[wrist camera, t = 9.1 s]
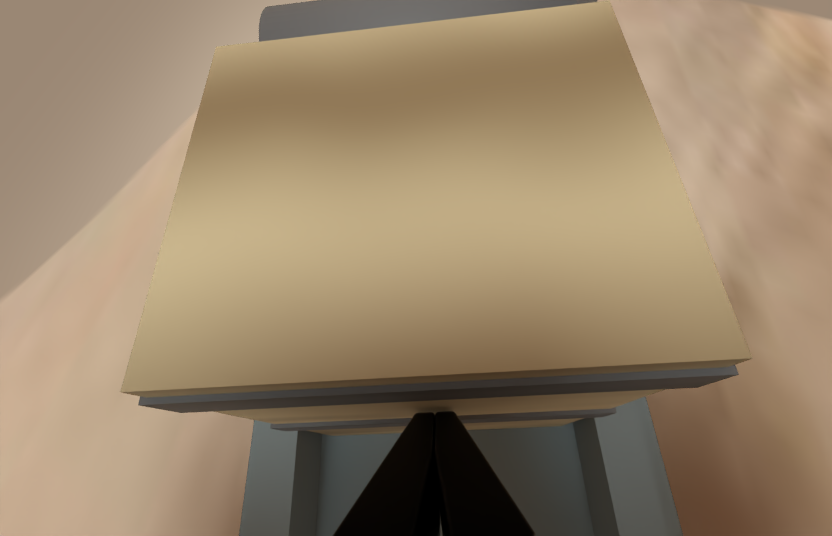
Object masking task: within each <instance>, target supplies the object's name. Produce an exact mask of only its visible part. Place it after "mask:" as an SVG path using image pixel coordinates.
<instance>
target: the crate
mask: <svg viewBox="0 0 832 536" xmlns="http://www.w3.org/2000/svg"><path fill="white" fill-rule="evenodd" d="M749 359H752V356H751V353H750V351H749V348H748V346H747V343H746V341H745V338H744V336H743V333H742V331H741V328H740V326H739V323H738V321H737V318H736V316H735V313H734V311H733V308H732V306H731V303H730V301H729V298H728V296H727V293H726V291H725V288H724V286H723V283H722V281H721V278H720V276H719V273H718V271H717V268H716V266H715V263H714V261H713V258H712V256H711V253H710V251H709V248H708V246H707V243H706V241H705V238H704V236H703V233H702V231H701V228H700V226H699V223H698V221H697V218H696V216H695V213H694V211H693V208H692V206H691V203H690V201H689V198H688V196H687V193H686V191H685V188H684V186H683V183H682V181H681V178H680V176H679V173H678V171H677V168H676V166H675V163H674V161H673V158H672V156H671V153H670V151H669V148H668V146H667V143H666V141H665V138H664V136H663V133H662V131H661V128H660V126H659V123H658V121H657V118H656V116H655V113H654V111H653V108H652V106H651V103H650V101H649V98H648V96H647V93H646V91H645V88H644V86H643V83H642V81H641V78H640V76H639V73H638V71H637V68H636V66H635V63H634V61H633V58H632V56H631V53H630V51H629V48H628V46H627V43H626V41H625V38H624V36H623V33H622V31H621V28H620V26H619V23H618V21H617V18H616V16H615V13H614V11H613V8H612V6H611V3H610V1H601V2H592V3H584V4H575V5H567V6H558V7H550V8H541V9H533V10H524V11H516V12H507V13H499V14H490V15H482V16H473V17H465V18H456V19H448V20H439V21H431V22H422V23H414V24H405V25H397V26H389V27H380V28H372V29H363V30H355V31H346V32H338V33H329V34H321V35H312V36H304V37H295V38H287V39H278V40H270V41H261V42H253V43H245V44H236V45H228V46H220V47H216V49H215V53H214V57H213V60H212V64H211V67H210V71H209V75H208V78H207V82H206V85H205V89H204V93H203V96H202V100H201V103H200V107H199V111H198V114H197V118H196V121H195V125H194V129H193V132H192V136H191V139H190V143H189V147H188V150H187V154H186V158H185V161H184V165H183V168H182V172H181V176H180V179H179V183H178V186H177V190H176V194H175V197H174V201H173V204H172V208H171V212H170V215H169V219H168V222H167V226H166V230H165V233H164V237H163V240H162V244H161V248H160V251H159V255H158V259H157V262H156V266H155V269H154V273H153V277H152V280H151V284H150V287H149V291H148V295H147V298H146V302H145V305H144V309H143V313H142V316H141V320H140V323H139V327H138V331H137V334H136V338H135V342H134V345H133V349H132V352H131V356H130V360H129V363H128V367H127V370H126V374H125V378H124V381H123V385H122V388H121V392H122V393H127V394H132V395H136V396H140V400H139V404H138V405H140V406H146V407H151V408H157V409H163V410H168V411H174V412H179V413H188V412H208V411H214V412H219V413H224V414H228V415H233V416H238V417H243V418H248V419H253V420H257V421H262V422H267V423H271V426H270V429H275V430H281V431H311V432H315V433H320V434H325V435H330V436H344V435H367V434H390V433H402V432H403V430H404V429H405V428H406V426H407V425H408V423H409V422H410V420H411V419H412V417H413V416H414V414H416V413H419V412H433V413H434V414H436V413H437V412H441V411H454V412H455V413H456V414H457V416H458V417H459V419H460V420H461V422H462V423H463V425H464V426H465V428H466V429H467V430H482V429H505V428H529V427H552V426H563V425H566V424H569V423H572V422H575V421H578V420H580V419H583V418H598V417H605V416H609V415H612V414H615V413H617V412H616V407H617V406H620V405H623V404H625V403H628V402H631V401H634V400H637V399H639V398H642V397H645V396H648V395H651V394H654V393H656V392H659V391H662V390H665V389H677V388H697V387H701V386H704V385H707V384H710V383H713V382H717V381H720V380H723V379H726V378H729V377H732V376H736V375H739V374H738V372H737V369H736V366H735V364H738V363H741V362H744V361H746V360H749Z"/></svg>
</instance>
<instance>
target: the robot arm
mask: <svg viewBox="0 0 832 536" xmlns="http://www.w3.org/2000/svg"><path fill="white" fill-rule="evenodd" d="M440 518H441V528H442V536H536V534H535V532H534V530H533V529H532V527H531V526H530V524H529V523H528V521H527V520H526V518H525V517H524V515H523V514H522V512H521V511H520V509H519V508H518V506H517V505H516V503H515V502H514V500H513V499H512V497H511V496H510V494H509V493H508V491H507V490H506V488H505V487H504V485H503V484H502V482H501V481H500V479H499V478H498V476H497V474H496V473H495V471H494V470H493V468H492V467H491V465H490V464H489V462H488V461H487V459H486V458H485V456H484V455H483V453H482V452H481V450H480V449H479V447H478V446H477V444H476V443H475V441H474V440H473V438H472V437H471V435H470V434H469V432H468V431H467V429H466V428H465V426H464V425H463V423H462V422H461V420H460V419H459V417H458V416H457V414H456V413H455V412H454V411H441V412H437V413H436V414H434V413H433V412H419V413H416V414H414V416H413V417H412V419H411V420H410V422H409V423H408V425H407V426H406V428H405V429H404V430H403V432H402V433H401V435H400V436H399V438H398V439H397V441H396V442H395V444H394V445H393V447H392V448H391V450H390V451H389V453H388V454H387V456H386V457H385V459H384V460H383V462H382V463H381V464H380V466H379V467H378V469H377V470H376V472H375V473H374V475H373V476H372V478H371V479H370V481H369V482H368V484H367V485H366V487H365V488H364V490H363V491H362V493H361V494H360V496H359V497H358V498H357V500H356V501H355V503H354V504H353V506H352V507H351V509H350V510H349V512H348V513H347V515H346V516H345V518H344V519H343V521H342V522H341V524H340V525H339V527H338V528H337V530H336V531H335V532H334V534H333V535H332V536H440Z"/></svg>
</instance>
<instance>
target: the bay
mask: <svg viewBox="0 0 832 536" xmlns="http://www.w3.org/2000/svg"><path fill="white" fill-rule="evenodd" d="M592 2H597V0H317V1H309V2H301V3H293V4H285V5H276V6H269V7H266V8H265V9H264V10H263V12H262V14H261V18H260V23H259V42H261V41H270V40H278V39H287V38H295V37H304V36H312V35H321V34H329V33H338V32H346V31H355V30H363V29H372V28H380V27H389V26H397V25H405V24H414V23H422V22H431V21H439V20H448V19H456V18H465V17H473V16H482V15H490V14H499V13H507V12H516V11H524V10H533V9H541V8H550V7H558V6H567V5H575V4H584V3H592ZM616 412H617V413H615V414H612V415H609V416H605V417H598V418H583V419H580V420H578V421H575V422H572V423H569V424H566V425H563V426H552V427H529V428H505V429H482V430H467V431H468V432H469V434H470V435H471V437H472V438H473V440H474V441H475V443H476V444H477V446H478V447H479V449H480V450H481V452H482V453H483V455H484V456H485V458H486V459H487V461H488V462H489V464H490V465H491V467H492V468H493V470H494V471H495V473H496V474H497V476H498V478H499V479H500V481H501V482H502V484H503V485H504V487H505V488H506V490H507V491H508V493H509V494H510V496H511V497H512V499H513V500H514V502H515V503H516V505H517V506H518V508H519V509H520V511H521V512H522V514H523V515H524V517H525V518H526V520H527V521H528V523H529V524H530V526H531V527H532V529H533V530H534V532H535V534H536V536H683V533H682V529H681V525H680V522H679V518H678V514H677V511H676V507H675V503H674V500H673V496H672V492H671V489H670V485H669V481H668V478H667V474H666V470H665V467H664V463H663V459H662V456H661V452H660V448H659V445H658V441H657V437H656V434H655V430H654V426H653V423H652V419H651V415H650V411H649V408H648V404H647V400H646V397H642V398H639V399H637V400H634V401H631V402H628V403H625V404H623V405H620V406H617V407H616ZM270 426H271V423H267V422H262V421H257V420H254V426H253V434H252V441H251V449H250V457H249V464H248V472H247V479H246V487H245V494H244V502H243V509H242V517H241V524H240V532H239V536H332V535H333V534H334V532H335V531H336V530H337V528H338V527H339V525H340V524H341V522H342V521H343V519H344V518H345V516H346V515H347V513H348V512H349V510H350V509H351V507H352V506H353V504H354V503H355V501H356V500H357V498H358V497H359V496H360V494H361V493H362V491H363V490H364V488H365V487H366V485H367V484H368V482H369V481H370V479H371V478H372V476H373V475H374V473H375V472H376V470H377V469H378V467H379V466H380V464H381V463H382V462H383V460H384V459H385V457H386V456H387V454H388V453H389V451H390V450H391V448H392V447H393V445H394V444H395V442H396V441H397V439H398V438H399V436H400V435H401V433H390V434H367V435H344V436H330V435H325V434H320V433H315V432H311V431H281V430H275V429H270ZM440 536H442V528H441V518H440Z"/></svg>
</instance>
